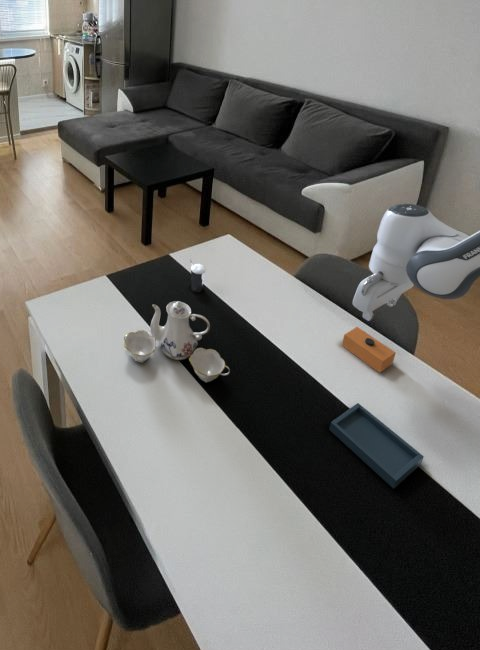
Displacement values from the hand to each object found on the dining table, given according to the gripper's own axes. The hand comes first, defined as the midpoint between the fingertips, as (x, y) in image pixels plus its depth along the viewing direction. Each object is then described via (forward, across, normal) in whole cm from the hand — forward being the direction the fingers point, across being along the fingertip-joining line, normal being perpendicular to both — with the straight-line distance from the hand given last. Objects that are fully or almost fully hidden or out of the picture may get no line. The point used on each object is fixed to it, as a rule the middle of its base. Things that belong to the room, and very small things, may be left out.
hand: (378, 311), depth 107 cm
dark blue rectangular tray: (+16, -21, -15) cm, 30 cm away
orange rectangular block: (+16, +1, 0) cm, 16 cm away
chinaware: (+16, -43, +25) cm, 53 cm away
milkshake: (+16, -20, +43) cm, 50 cm away
